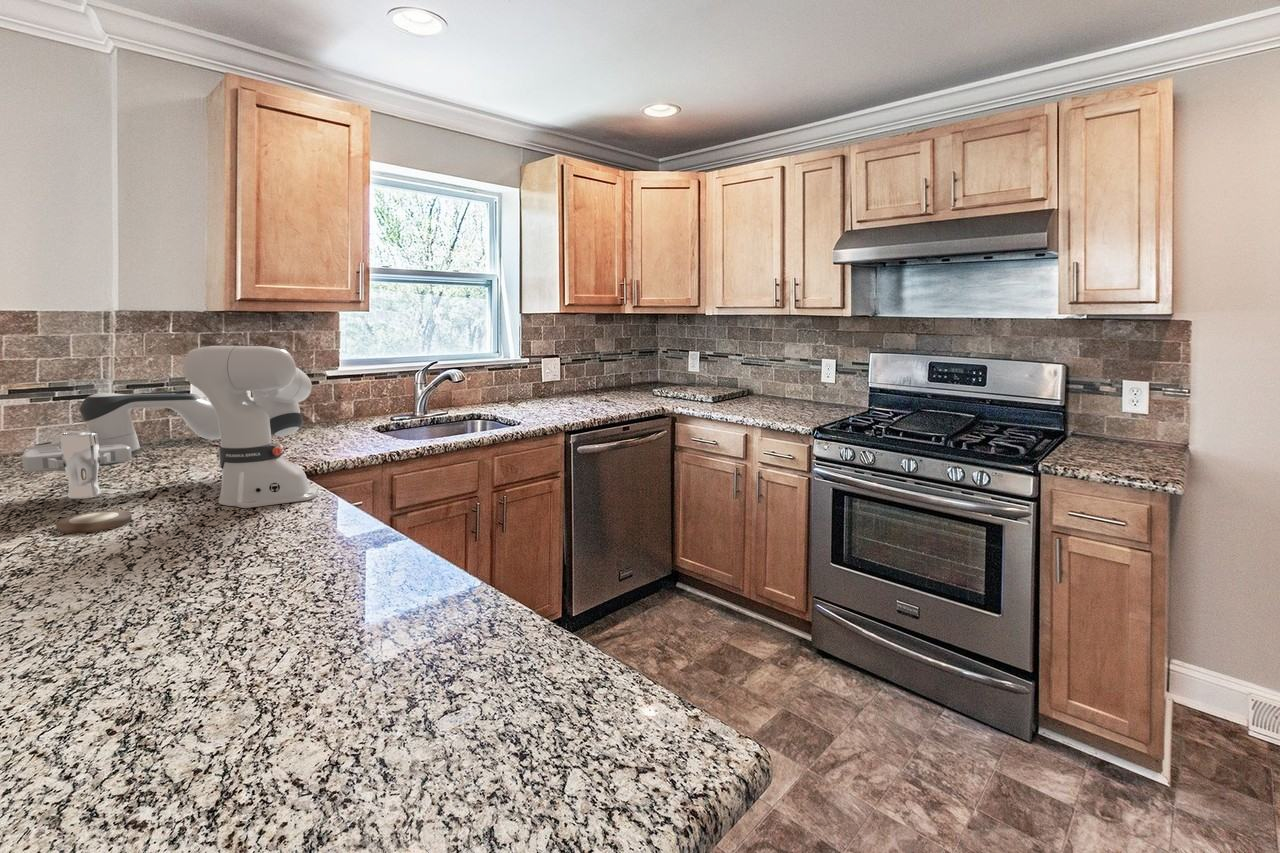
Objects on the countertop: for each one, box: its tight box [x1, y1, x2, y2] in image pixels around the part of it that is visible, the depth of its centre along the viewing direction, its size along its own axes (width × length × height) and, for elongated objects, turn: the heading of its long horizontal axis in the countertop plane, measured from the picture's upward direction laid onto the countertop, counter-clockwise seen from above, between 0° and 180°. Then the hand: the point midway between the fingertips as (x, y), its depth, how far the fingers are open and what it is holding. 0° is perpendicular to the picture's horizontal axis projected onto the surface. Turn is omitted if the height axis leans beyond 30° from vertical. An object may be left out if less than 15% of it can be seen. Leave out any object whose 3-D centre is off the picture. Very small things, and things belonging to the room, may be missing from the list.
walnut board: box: [55, 509, 133, 535], centre depth 149 cm, size 13×13×2 cm
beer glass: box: [60, 431, 102, 500], centre depth 158 cm, size 7×7×15 cm
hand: (81, 462), depth 157 cm, fingers closed on beer glass, 6 cm apart
